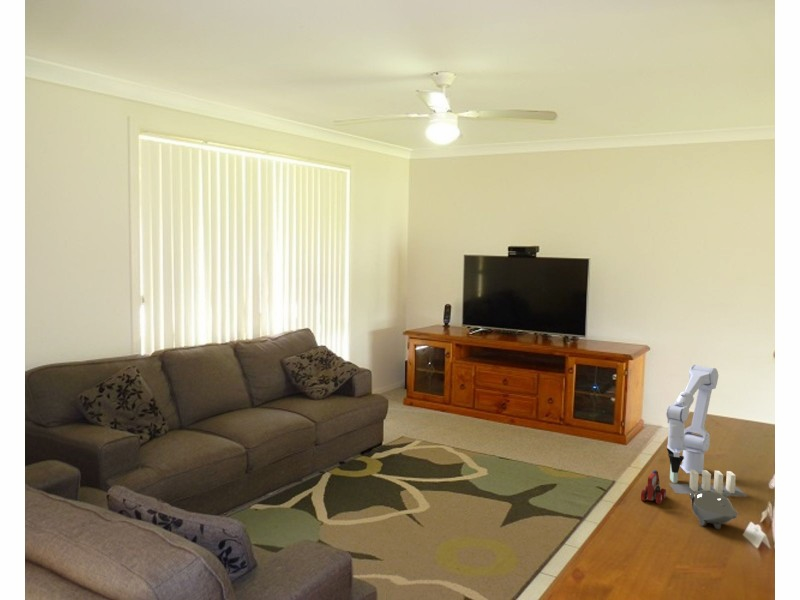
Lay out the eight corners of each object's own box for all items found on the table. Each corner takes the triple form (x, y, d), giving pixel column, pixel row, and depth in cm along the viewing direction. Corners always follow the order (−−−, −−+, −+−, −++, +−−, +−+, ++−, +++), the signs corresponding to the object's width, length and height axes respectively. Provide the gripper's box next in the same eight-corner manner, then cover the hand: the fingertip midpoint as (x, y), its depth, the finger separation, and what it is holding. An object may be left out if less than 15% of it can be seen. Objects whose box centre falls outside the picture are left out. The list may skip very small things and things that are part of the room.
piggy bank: (734, 536, 212) (736, 502, 211) (685, 525, 220) (687, 492, 219) (737, 523, 221) (740, 491, 220) (690, 513, 229) (692, 481, 228)
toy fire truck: (667, 496, 244) (668, 469, 243) (658, 507, 234) (660, 480, 233) (648, 492, 248) (649, 465, 247) (638, 502, 238) (640, 475, 237)
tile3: (705, 491, 247) (706, 474, 246) (701, 487, 251) (702, 470, 251) (709, 492, 247) (711, 474, 246) (705, 487, 251) (706, 470, 251)
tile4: (717, 492, 247) (719, 474, 246) (713, 487, 251) (714, 470, 250) (722, 492, 246) (723, 474, 246) (717, 488, 251) (718, 470, 250)
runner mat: (668, 484, 255) (668, 483, 255) (736, 487, 253) (737, 486, 253) (676, 494, 246) (676, 493, 246) (747, 497, 243) (748, 496, 243)
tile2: (693, 491, 248) (694, 473, 247) (689, 486, 252) (690, 469, 251) (697, 491, 247) (698, 473, 247) (693, 487, 252) (694, 469, 251)
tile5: (730, 493, 246) (731, 475, 245) (725, 488, 251) (726, 471, 250) (734, 493, 246) (735, 475, 245) (730, 488, 250) (731, 471, 250)
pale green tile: (673, 483, 256) (674, 466, 255) (669, 479, 260) (670, 462, 260) (677, 483, 256) (678, 466, 255) (673, 479, 260) (674, 462, 259)
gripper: (688, 442, 248) (686, 476, 249) (685, 431, 262) (683, 464, 263) (669, 440, 250) (667, 474, 252) (666, 429, 264) (664, 462, 265)
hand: (674, 469), depth 257 cm, fingers open, 7 cm apart
